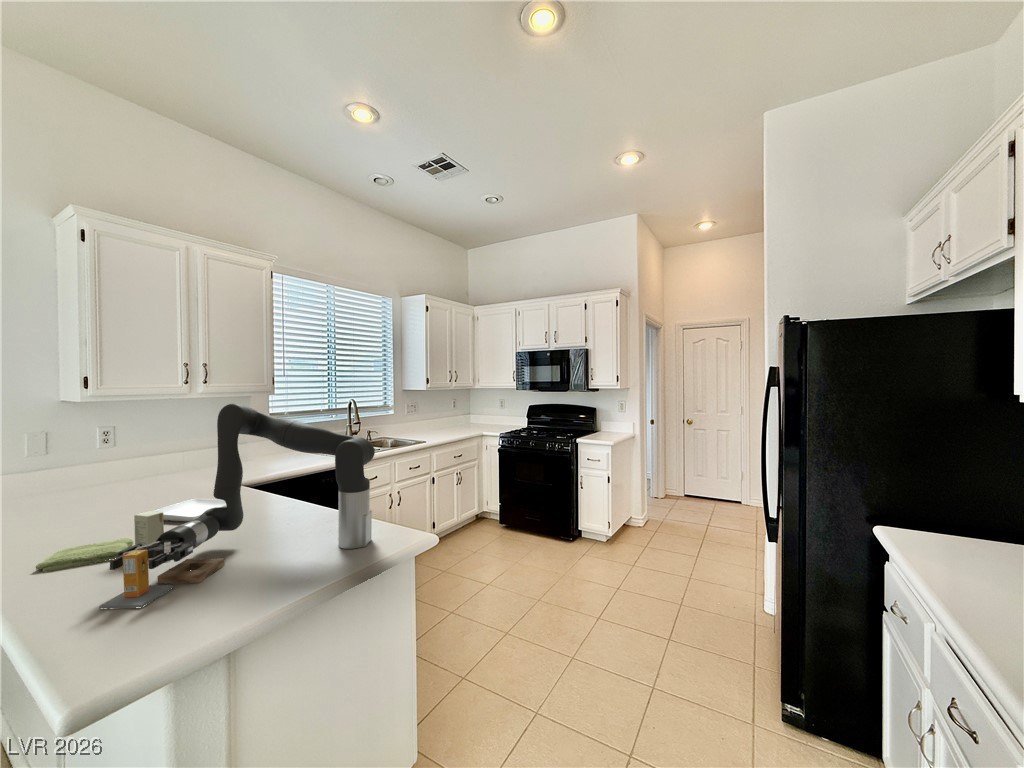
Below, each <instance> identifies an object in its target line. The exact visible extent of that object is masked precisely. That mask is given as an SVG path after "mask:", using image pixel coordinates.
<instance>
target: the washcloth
mask: <svg viewBox="0 0 1024 768" xmlns="http://www.w3.org/2000/svg"><path fill="white" fill-rule="evenodd" d="M131 546H134V540H133V539H132V538H130V537H123V538H119V539H115V540H108V541H102V542H96V543H92V544H91V543H89V544H83V545H78V546H74V547H73V546H72V547H69V548H64V549H62V550H58V551H55V552H54V553H53V554H52V555H49V556H47V557H46V558H44V559H43V561H42V562H41V563H37V564H36V566H35V570H42V572H43V573H47V572H48V573H49V572H51V571H52V572H53V571H58V570H63V569H64V570H65V569H70V568H75V567H74V566H76V567H80V566H79V565H81V566H85V565H84V564H87V565H91V564H90V563H93V564H96V563H95V562H98V563H101V562H100V561H104V562H106V561H105V560H109V559H115V558H118V552H120V551H122V550H124V549H127V548H129V547H131ZM69 567H70V568H69Z"/></svg>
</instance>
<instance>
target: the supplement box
mask: <svg viewBox="0 0 1024 768" xmlns="http://www.w3.org/2000/svg"><path fill="white" fill-rule="evenodd" d="M122 571H123V573H122V575H123V592H124V598H134V597H139V596H141V595H142V594H144V593H145V592H147V591H148V590H149V586H150V580H149V579H150V578H149V560H148V551H147V550H137V551H132V552H131V553H129V554H127V555H125V556H123V566H122Z"/></svg>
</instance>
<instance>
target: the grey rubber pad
mask: <svg viewBox="0 0 1024 768" xmlns="http://www.w3.org/2000/svg"><path fill="white" fill-rule="evenodd" d="M173 585H174V584H173ZM173 585H172V584H158V585H149V590H148V591H147V592H145V593H144V594H142V595H141V596H139V597H134V598H124V591H123V592H122V593H120V594H118V595H116V596H114V597H113V598H111V599H109V600H108V601H106V602H104V603H102V604H100V605H99V606H98V607H99V608H136V607H143V606H144V605H146V604H148V603H149V602H151V601H152V602H154V601H155V600H157V599H159V598H160V597H161V595H162V594H163V595H165V594H166V593H168V592H169V591H170V589H171V588H172V589H173V588H174V586H173ZM172 589H171V590H172ZM168 590H169V591H168ZM167 591H168V592H167ZM165 592H166V593H165ZM164 593H165V594H164ZM163 595H162V596H163ZM159 596H160V597H159ZM158 597H159V598H158ZM156 598H157V599H156ZM154 599H155V600H154ZM153 600H154V601H153ZM152 602H151V603H152ZM149 604H150V603H149ZM149 604H148V605H149ZM146 606H147V605H146ZM143 608H144V607H143ZM136 609H137V608H136Z"/></svg>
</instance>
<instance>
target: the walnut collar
mask: <svg viewBox="0 0 1024 768" xmlns="http://www.w3.org/2000/svg"><path fill="white" fill-rule="evenodd" d="M224 566H225V558H224V557H223V558H218V557H217V558H186V559H184V560H183V561H181V562H179V563H178V564H176V565H175V566H173V567H171V568H169V569H168V570H166V571H164V572H162V573H160V574H158V575H157V585H168V584H167V583H178V584H200V583H201V582H202V581H204V580H205V579H207V578H208V577H210V576H211V575H213V574H214V573H215V571H216V572H217V571H219V570H220V569H221V568H223V567H224ZM190 570H193V571H190ZM212 573H213V574H212ZM162 583H164V584H162Z"/></svg>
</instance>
